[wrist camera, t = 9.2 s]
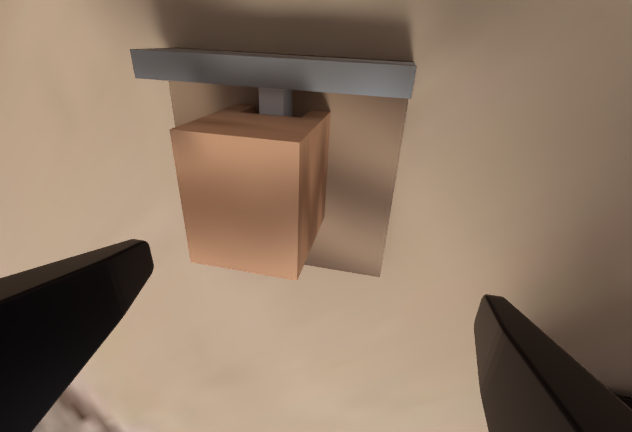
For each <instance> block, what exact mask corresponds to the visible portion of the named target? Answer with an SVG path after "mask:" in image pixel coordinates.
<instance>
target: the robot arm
mask: <svg viewBox="0 0 632 432" xmlns="http://www.w3.org/2000/svg"><path fill="white" fill-rule="evenodd" d="M153 268H154V264H153V260H152V256H151V251H150V247H149V244H148V243H147V242H146V241H143V240H136V239H131V240H127V241H124V242H121V243H117V244H114V245H111V246H107V247H104V248H101V249H97V250H94V251H90V252H87V253H84V254H80V255H77V256H74V257H70V258H67V259H64V260H60V261H57V262H54V263H50V264H47V265H43V266H40V267H37V268H33V269H30V270H27V271H23V272H20V273H17V274H13V275H10V276H7V277H3V278H0V432H32V431H33V430H34V429H35V427H36V426H37V425H38V424H39V422H40V421H41V420H42V418H43V417H44V416H45V415H46V413H47V412H48V411H49V410H50V408H51V407H52V406H53V405H54V403H55V402H56V401H57V400H58V398H59V397H60V396H61V395H62V393H63V392H64V391H65V390H66V388H67V387H68V386H69V385H70V383H71V382H72V381H73V380H74V378H75V377H76V376H77V375H78V373H79V372H80V371H81V370H82V368H83V367H84V366H85V365H86V363H87V362H88V361H89V359H90V358H91V357H92V356H93V354H94V353H95V352H96V351H97V349H98V348H99V347H100V346H101V344H102V343H103V342H104V341H105V339H106V338H107V337H108V336H109V334H110V333H111V332H112V331H113V329H114V328H115V327H116V326H117V324H118V323H119V322H120V320H121V319H122V318H123V316H124V315H125V313H126V312H127V311H128V309H129V308H130V306H131V304H132V303H133V301H134V300H135V298H136V297H137V295H138V294H139V292H140V291H141V289H142V288H143V286H144V285H145V283H146V282H147V280H148V278H149V277H150V275H151V274H152V272H153ZM474 334H475V345H476V355H477V366H478V376H479V385H480V393H481V398H482V403H483V408H484V412H485V417H486V421H487V426H488V430H489V432H632V398H628V397H623V396H618V395H614V394H613V393H612V392H611V391H610V390H609V389H607V388H606V387H605V386H604V385H603V384H602V383H601V382H600V381H598V380H597V379H596V378H595V377H594V376H593V375H592V374H590V373H589V372H588V371H587V370H586V369H585V368H584V367H582V366H581V365H580V364H579V363H578V362H577V361H576V360H574V359H573V358H572V357H571V356H570V355H569V354H568V353H567V352H565V351H564V350H563V349H562V348H561V347H560V346H559V345H557V344H556V343H555V342H554V341H553V340H552V339H551V338H549V337H548V336H547V335H546V334H545V333H544V332H543V331H541V330H540V329H539V328H538V327H537V326H536V325H535V324H534V323H532V322H531V321H530V320H529V319H528V318H527V317H526V316H524V315H523V314H522V313H521V312H520V311H519V310H518V309H516V308H515V307H514V306H513V305H512V304H511V303H510V302H509V301H507V300H506V299H505V298H504V297H501V296H494V295H488V294H486V295H484V296H483V297H482V299H481V302H480V306H479V309H478V312H477V315H476V318H475V323H474Z"/></svg>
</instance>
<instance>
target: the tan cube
mask: <svg viewBox="0 0 632 432" xmlns="http://www.w3.org/2000/svg"><path fill="white" fill-rule="evenodd" d="M330 114H331V112H330V111H318V110H310V111H309V112H308V113H307V114H305V115H304V116H303V117H301V118H299V117H288V116H276V115H265V114H255V105H246V104H235V105H232V106H230V107H227V108H225V109H222V110H219V111H217V112H214V113H211V114H209V115H206V116H204V117H201V118H198V119H196V120H193V121H191V122H188V123H185V124H183V125H180V126H177V127H175V128H172V129H170V135H171V141H172V147H173V154H174V160H175V166H176V172H177V179H178V185H179V191H180V198H181V204H182V210H183V216H184V223H185V229H186V235H187V241H188V248H189V254H190V260H191V262H194V263H200V264H205V265H211V266H217V267H223V268H228V269H234V270H240V271H245V272H251V273H257V274H263V275H268V276H274V277H280V278H286V279H291V280H298V277H299V275H300V273H301V270H302V268H303V266H304V263H305V261H306V259H307V256H308V254H309V252H310V250H311V247H312V245H313V243H314V240H315V238H316V236H317V233H318V231H319V229H320V226H321V224H322V222H323V220H324V216H325V199H326V182H327V165H328V148H329V131H330Z"/></svg>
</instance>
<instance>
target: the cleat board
mask: <svg viewBox="0 0 632 432" xmlns="http://www.w3.org/2000/svg"><path fill="white" fill-rule="evenodd" d="M130 52H131V58H132V63H133V68H134V73H135V78H142V79H155V80H168V81H169V87H170V93H171V100H172V107H173V113H174V120H175V127H177V126H180V125H183V124H185V123H188V122H191V121H193V120H196V119H198V118H201V117H204V116H206V115H209V114H211V113H214V112H217V111H219V110H222V109H225V108H227V107H230V106H232V105H235V104H246V105H255V114H265V115H276V116H288V117H299V118H301V117H303V116H304V115H305V114H307V113H308V112H309V111H310V110H318V111H330V112H331V114H330V131H329V148H328V165H327V182H326V199H325V216H324V220H323V222H322V224H321V226H320V229H319V231H318V233H317V236H316V238H315V240H314V243H313V245H312V247H311V250H310V252H309V254H308V256H307V259H306V261H305V263H304V265H310V266H316V267H322V268H328V269H334V270H340V271H346V272H352V273H358V274H364V275H370V276H376V277H380V272H381V266H382V260H383V254H384V248H385V241H386V235H387V229H388V223H389V216H390V210H391V204H392V198H393V192H394V185H395V179H396V173H397V167H398V161H399V154H400V148H401V142H402V136H403V130H404V123H405V117H406V111H407V105H408V99H411V97H412V91H413V85H414V78H415V72H416V65H415V63H414V61H396V60H379V59H361V58H344V57H326V56H308V55H291V54H273V53H256V52H238V51H221V50H203V49H185V48H155V49H130Z"/></svg>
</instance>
